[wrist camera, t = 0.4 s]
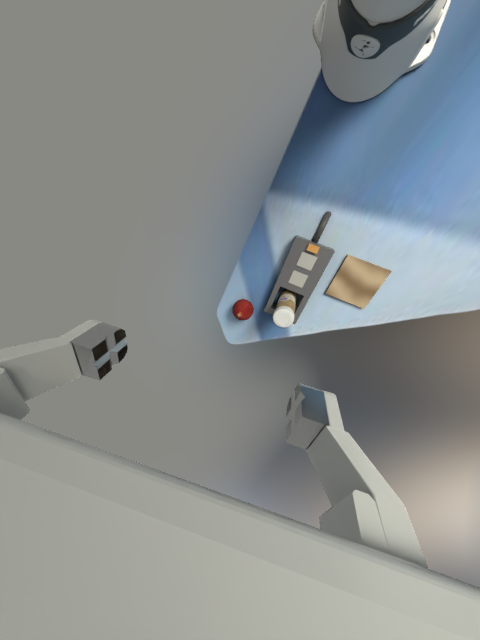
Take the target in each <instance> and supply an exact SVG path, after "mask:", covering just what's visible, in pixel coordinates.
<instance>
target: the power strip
mask: <svg viewBox="0 0 480 640" xmlns="http://www.w3.org/2000/svg"><path fill="white" fill-rule="evenodd" d="M330 216H331V212H329V211H328V212H326V213H325V216H324V218H323V220H322V222H321V224H320V226H319V228H318V230H317V232H316V234H315V237H314V239H313V241H310V240H308V239H305V238H302V237H300V236H297V235H296V237H295V240H294V242H293V244H292V247H291V249H290V251H289V254H288V256H287V258H286V261H285V263H284V265H283V268H282V270H281V272H280V275H279V277H278V279H277V282H276V284H275V286H274V289H273V291H272V293H271V296H270V298H269V300H268V303H267V305H266V307H265V310H264V312H267V313H269V314H271V315H273V314H274V311H275V310H276V307H277V304H274V303H273V301H274V299H275V297H276V295H277V292H278V290H279V288H280V286H281V287H283V288H286V289H288V290H291V291H293V292H296V293H298V294H301V295H302V297H301V299H300V301H299V303H298V305H297V307H296V309H295V312H294V314H295V317H294V321H293V324H295V323H296V321H297V320H298V318H299V316H300V314H301V312H302V310H303V309H304V307H305V305H306V303H307V301H308V299H309V298H310V296H311V294H312V292H313V290H314V288H315V287H316V285H317V283H318V281H319V279H320V277H321V276H322V274H323V272H324V270H325V268H326V266H327V265H328V263H329V261H330V259H331V257H332V255H333V254H334V252H335V251H334V250H333V249H332V248H329V247H326V246H324V245H321V244H318V243H317V242H318V240H319V238H320V236H321V234H322V232H323V230H324V228H325V226H326V224H327V222H328V220H329V218H330Z"/></svg>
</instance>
